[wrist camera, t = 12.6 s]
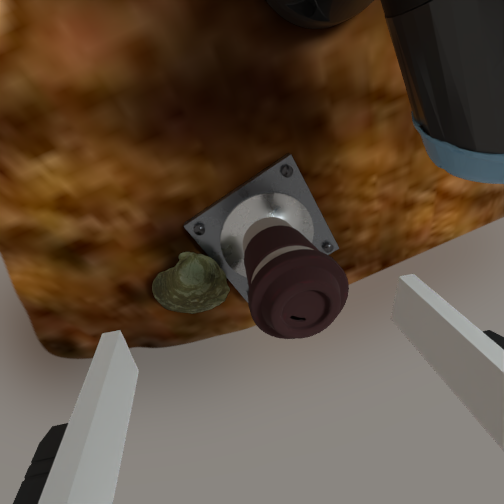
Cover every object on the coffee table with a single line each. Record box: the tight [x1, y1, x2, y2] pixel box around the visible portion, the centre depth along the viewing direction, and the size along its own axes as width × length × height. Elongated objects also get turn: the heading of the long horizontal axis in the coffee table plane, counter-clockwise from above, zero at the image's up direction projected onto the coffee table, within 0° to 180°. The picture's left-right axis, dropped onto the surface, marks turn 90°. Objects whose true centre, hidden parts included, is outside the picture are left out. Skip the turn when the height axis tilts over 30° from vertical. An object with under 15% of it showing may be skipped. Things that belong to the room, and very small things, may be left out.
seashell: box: [152, 252, 230, 314], centre depth 40 cm, size 10×7×10 cm
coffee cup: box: [243, 217, 349, 339], centre depth 33 cm, size 10×10×15 cm
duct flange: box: [184, 153, 339, 302], centre depth 40 cm, size 16×16×2 cm
